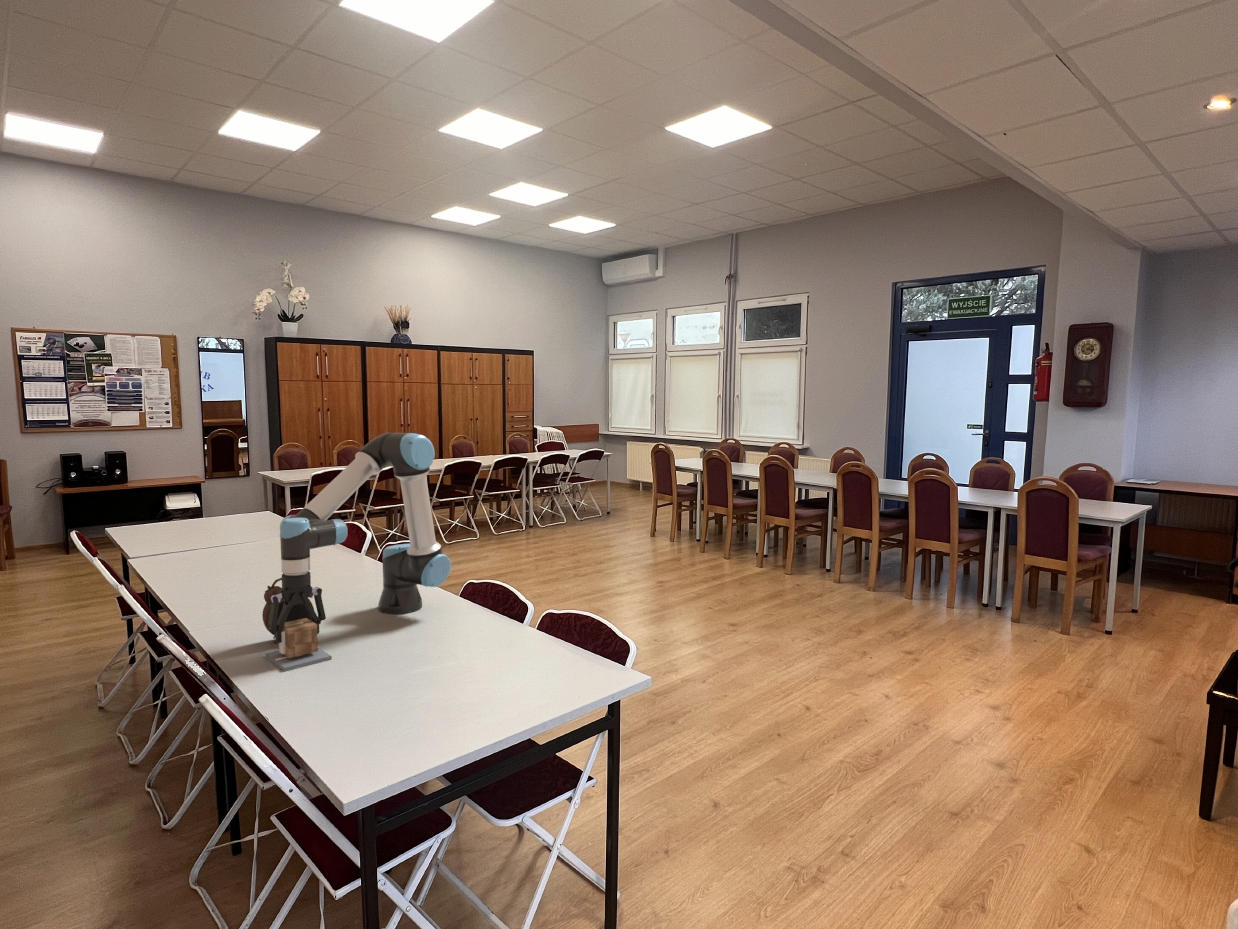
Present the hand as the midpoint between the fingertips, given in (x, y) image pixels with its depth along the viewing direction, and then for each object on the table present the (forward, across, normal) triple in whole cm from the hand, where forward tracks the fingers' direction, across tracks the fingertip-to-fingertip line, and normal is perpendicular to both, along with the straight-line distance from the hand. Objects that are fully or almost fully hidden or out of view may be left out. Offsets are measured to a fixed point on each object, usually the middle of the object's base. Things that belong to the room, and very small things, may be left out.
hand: (298, 648), depth 197 cm
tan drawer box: (+1, 0, 0) cm, 1 cm away
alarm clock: (+3, -4, -17) cm, 18 cm away
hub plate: (+3, 0, 0) cm, 3 cm away
